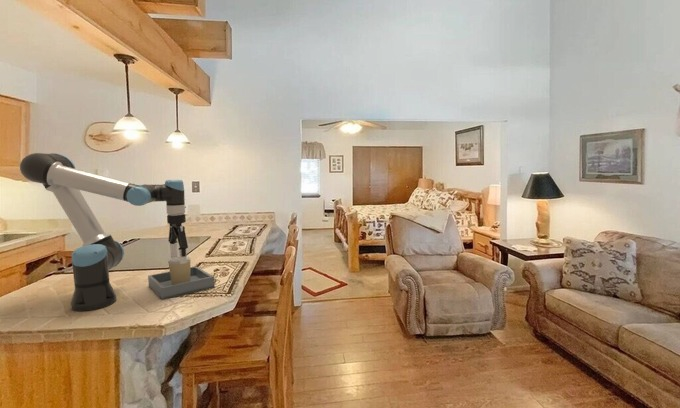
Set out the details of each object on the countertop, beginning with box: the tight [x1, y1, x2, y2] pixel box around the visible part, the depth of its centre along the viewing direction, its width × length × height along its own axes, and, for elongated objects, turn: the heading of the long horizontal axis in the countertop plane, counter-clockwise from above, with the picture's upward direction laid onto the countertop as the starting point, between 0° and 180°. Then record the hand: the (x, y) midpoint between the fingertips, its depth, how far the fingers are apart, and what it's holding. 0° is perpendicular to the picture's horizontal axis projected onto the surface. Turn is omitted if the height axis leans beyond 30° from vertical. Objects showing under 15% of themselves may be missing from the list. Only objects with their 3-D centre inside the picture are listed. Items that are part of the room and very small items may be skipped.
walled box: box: [147, 265, 216, 301], centre depth 165 cm, size 22×23×5 cm
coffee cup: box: [167, 256, 192, 285], centre depth 165 cm, size 9×9×12 cm
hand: (178, 260), depth 164 cm, fingers open, 13 cm apart
